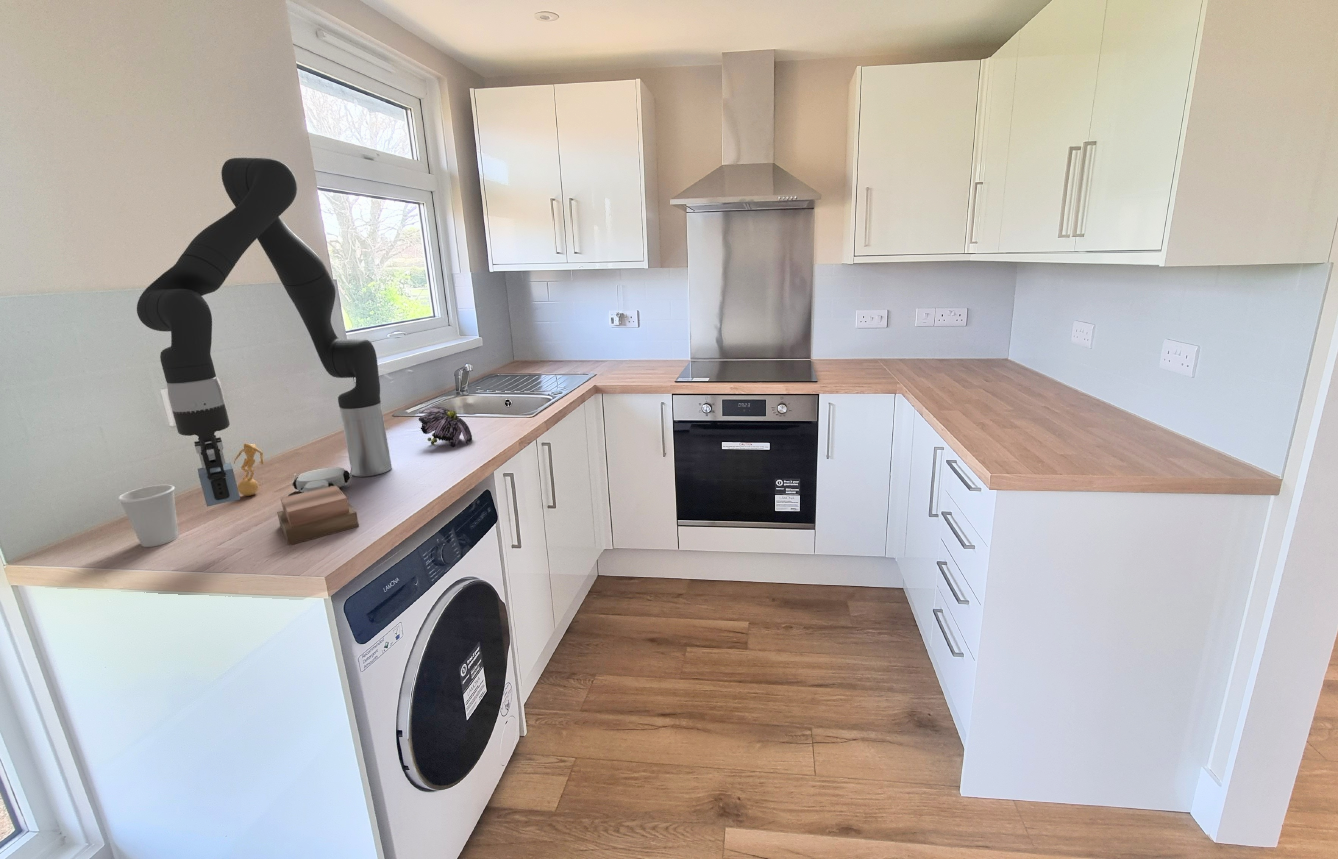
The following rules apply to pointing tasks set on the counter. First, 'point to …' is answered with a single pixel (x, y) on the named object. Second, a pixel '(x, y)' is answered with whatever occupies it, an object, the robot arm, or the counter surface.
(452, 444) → the decorative flower
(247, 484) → the figurine
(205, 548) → the counter surface
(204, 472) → the slate brick
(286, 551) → the counter surface
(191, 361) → the robot arm
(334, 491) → the wooden stepped block
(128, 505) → the dixie cup
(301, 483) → the robot toy
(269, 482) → the counter surface
